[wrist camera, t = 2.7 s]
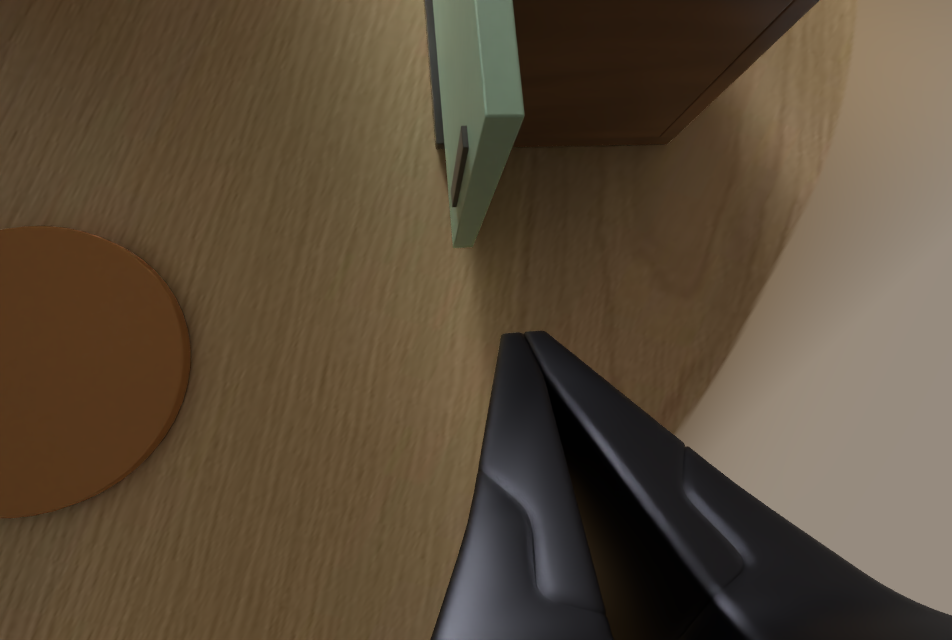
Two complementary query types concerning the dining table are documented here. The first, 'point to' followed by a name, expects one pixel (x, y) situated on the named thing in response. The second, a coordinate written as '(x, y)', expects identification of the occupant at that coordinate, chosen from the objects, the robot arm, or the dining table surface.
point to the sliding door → (476, 104)
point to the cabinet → (627, 64)
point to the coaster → (81, 366)
